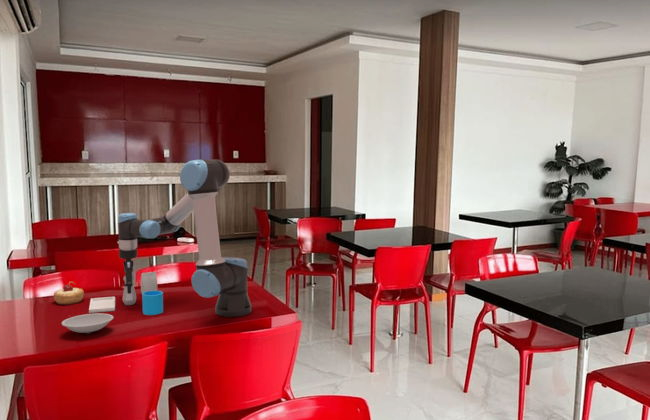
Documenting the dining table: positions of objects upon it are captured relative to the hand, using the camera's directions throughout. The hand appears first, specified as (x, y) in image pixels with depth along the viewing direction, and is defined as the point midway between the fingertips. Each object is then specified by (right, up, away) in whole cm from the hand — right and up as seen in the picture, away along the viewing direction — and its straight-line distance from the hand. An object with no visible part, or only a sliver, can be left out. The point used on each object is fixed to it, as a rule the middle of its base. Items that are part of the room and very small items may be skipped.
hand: (129, 296), depth 231 cm
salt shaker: (0, -4, 0) cm, 4 cm away
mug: (+13, -5, -8) cm, 16 cm away
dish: (-2, -8, -36) cm, 37 cm away
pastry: (-28, -3, +2) cm, 28 cm away
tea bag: (+3, -2, +17) cm, 18 cm away
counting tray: (-10, -4, -4) cm, 11 cm away
